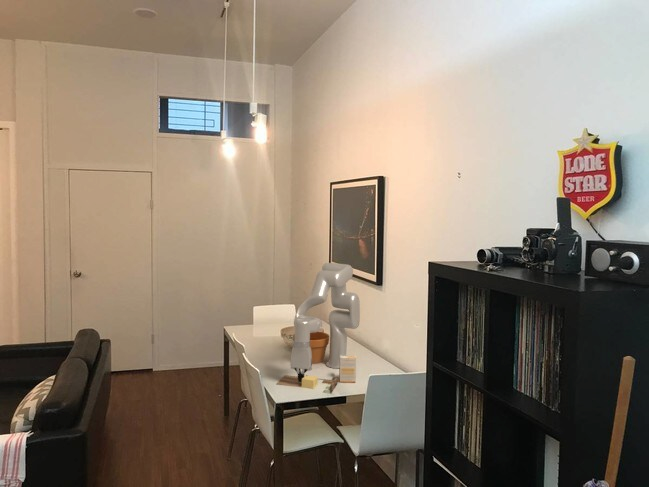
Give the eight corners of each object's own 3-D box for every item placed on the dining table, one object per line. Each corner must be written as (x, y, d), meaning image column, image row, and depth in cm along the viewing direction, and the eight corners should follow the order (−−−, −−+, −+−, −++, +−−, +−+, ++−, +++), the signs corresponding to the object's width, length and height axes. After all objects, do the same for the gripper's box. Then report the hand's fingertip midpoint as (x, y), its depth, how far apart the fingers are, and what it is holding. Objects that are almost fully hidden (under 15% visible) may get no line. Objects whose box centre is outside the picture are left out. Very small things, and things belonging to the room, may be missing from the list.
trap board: (284, 377, 264) (284, 371, 264) (337, 383, 258) (337, 376, 258) (275, 387, 249) (275, 380, 249) (331, 393, 243) (331, 386, 243)
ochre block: (306, 383, 252) (306, 375, 252) (317, 384, 250) (317, 376, 250) (301, 386, 247) (301, 378, 247) (313, 388, 245) (313, 380, 245)
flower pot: (324, 367, 285) (325, 341, 284) (288, 363, 289) (288, 338, 288) (331, 356, 305) (332, 332, 304) (297, 353, 309) (298, 329, 309)
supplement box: (354, 379, 264) (355, 355, 264) (355, 383, 260) (356, 357, 259) (338, 379, 264) (339, 354, 263) (339, 382, 259) (340, 357, 259)
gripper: (285, 345, 249) (284, 382, 250) (314, 347, 245) (313, 385, 246) (289, 341, 256) (288, 377, 257) (318, 344, 252) (317, 380, 253)
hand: (300, 381), depth 251 cm, fingers closed
